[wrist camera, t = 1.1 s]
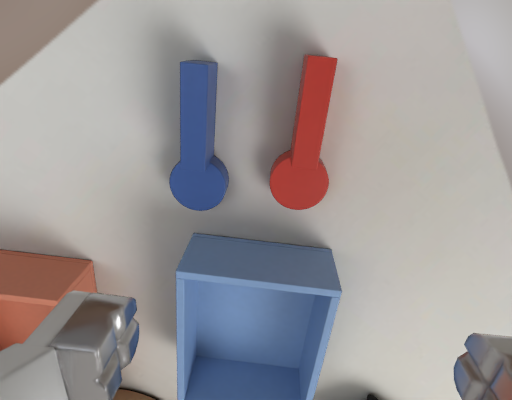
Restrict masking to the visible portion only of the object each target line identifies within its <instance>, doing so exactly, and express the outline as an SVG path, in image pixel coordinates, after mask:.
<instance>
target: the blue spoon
mask: <svg viewBox="0 0 512 400" xmlns="http://www.w3.org/2000/svg"><path fill="white" fill-rule="evenodd" d="M217 64H218V63H216V62H207V61H198V60H190V61H182V62H180V150H181V160H180V161H179V162H178V164H177V165H176V166H175V167H174V168H173V170H172V172H171V175H170V188H171V191H172V193H173V195H174V197H175V198H176V199H177V201H178V202H179V203H181V204H182V205H183V206H185V207H187V208H189V209H192V210H199V211H202V210H208V209H211V208H213V207H215V206H217V205H218V204H219V203H220V202H221V200H222V199H223V197H224V195H225V192H226V190H227V187H228V183H229V176H228V172H227V169H226V167H225V166H224V164H223V163H222V162H221V161H220V160H219V159H218V158H217V157H215V156H214V137H215V113H216V89H217Z"/></svg>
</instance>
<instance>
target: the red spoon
mask: <svg viewBox="0 0 512 400" xmlns="http://www.w3.org/2000/svg"><path fill="white" fill-rule="evenodd" d="M336 64H337V58H332V57H324V56H314V55H304V61H303V67H302V74H301V81H300V88H299V95H298V102H297V109H296V116H295V122H294V129H293V136H292V143H291V150H290V151H287V152H285V153H283V154H282V155H280V156H279V157H278V158H277V159H276V161H275V162H274V164H273V166H272V168H271V173H270V189H271V192H272V195H273V196H274V198H275V199H276V200H277V201H278V202H279V203H280V204H281V205H283V206H285V207H287V208H290V209H295V210H302V209H307V208H310V207H312V206H314V205H316V204H317V203H319V202H320V201H321V200H322V198H323V197H324V196H325V194H326V192H327V189H328V184H329V179H328V174H327V171H326V169H325V166H324V164H323V162H322V160H321V159H320V158H319V155H320V150H321V145H322V139H323V134H324V129H325V123H326V118H327V113H328V107H329V102H330V96H331V91H332V86H333V80H334V75H335V70H336Z"/></svg>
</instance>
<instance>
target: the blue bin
mask: <svg viewBox="0 0 512 400" xmlns="http://www.w3.org/2000/svg"><path fill="white" fill-rule="evenodd" d="M341 293H342V290H341V286H340V282H339V278H338V274H337V270H336V266H335V262H334V258H333V254H332V250H331V249H324V248H315V247H307V246H298V245H290V244H281V243H273V242H264V241H256V240H247V239H239V238H231V237H222V236H214V235H205V234H197V233H193V236H192V238H191V240H190V242H189V244H188V246H187V248H186V250H185V253H184V255H183V257H182V259H181V261H180V263H179V265H178V268H177V270H176V324H177V399H178V400H313V397H314V394H315V390H316V386H317V383H318V379H319V375H320V371H321V368H322V364H323V360H324V356H325V353H326V349H327V345H328V341H329V338H330V334H331V330H332V326H333V323H334V319H335V315H336V311H337V308H338V304H339V300H340V297H341Z"/></svg>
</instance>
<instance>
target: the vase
mask: <svg viewBox="0 0 512 400" xmlns="http://www.w3.org/2000/svg"><path fill="white" fill-rule="evenodd" d="M113 400H155V399H153V398H151V397H148V396H146V395H143V394H140V393H137V392H133V391H128V390H122V389H118V390H117V392H116V394H115V396H114V398H113Z"/></svg>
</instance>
